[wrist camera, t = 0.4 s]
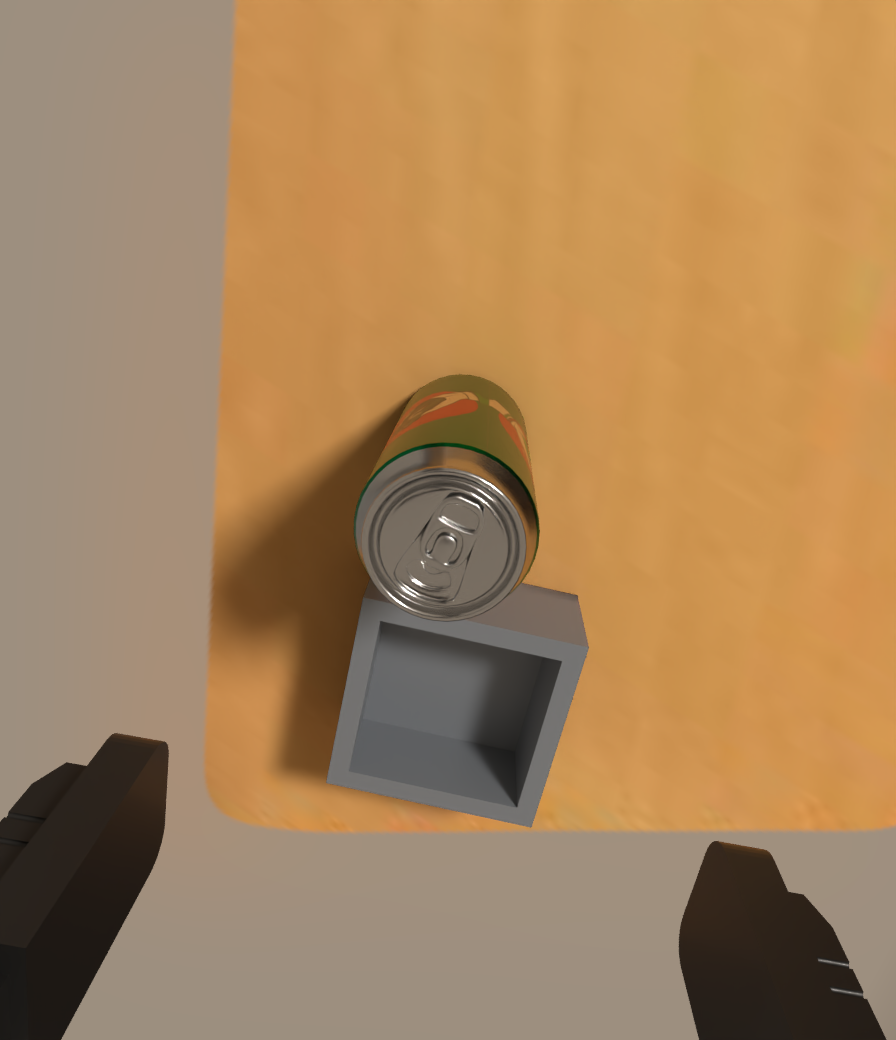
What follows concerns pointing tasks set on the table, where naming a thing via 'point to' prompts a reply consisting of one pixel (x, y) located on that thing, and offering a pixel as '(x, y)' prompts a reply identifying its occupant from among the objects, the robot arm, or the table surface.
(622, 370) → the table surface
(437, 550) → the soda can
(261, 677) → the table surface
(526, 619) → the grey hollow square box
